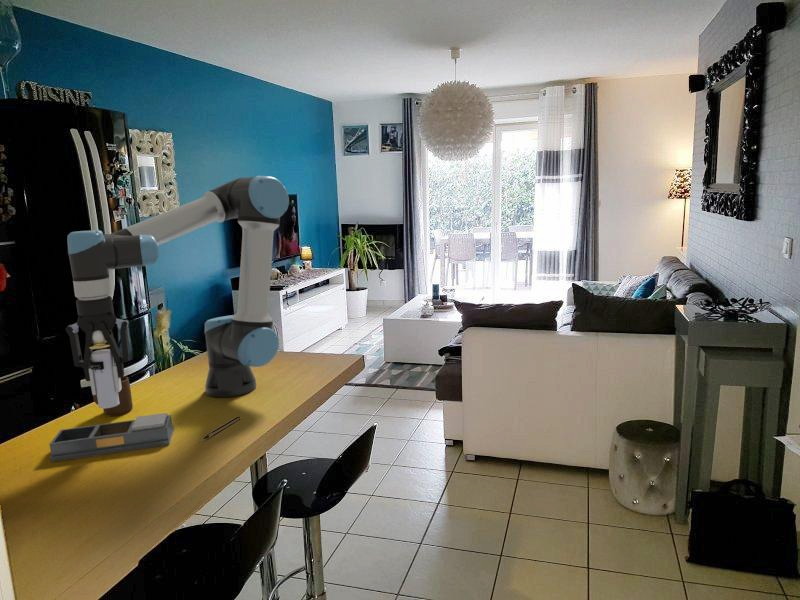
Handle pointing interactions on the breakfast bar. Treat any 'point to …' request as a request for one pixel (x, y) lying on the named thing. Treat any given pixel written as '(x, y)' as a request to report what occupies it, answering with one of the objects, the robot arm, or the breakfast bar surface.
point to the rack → (112, 437)
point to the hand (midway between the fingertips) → (107, 391)
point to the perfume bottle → (103, 372)
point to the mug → (120, 400)
